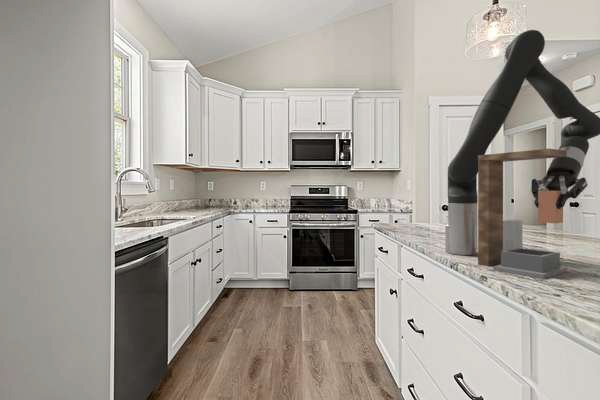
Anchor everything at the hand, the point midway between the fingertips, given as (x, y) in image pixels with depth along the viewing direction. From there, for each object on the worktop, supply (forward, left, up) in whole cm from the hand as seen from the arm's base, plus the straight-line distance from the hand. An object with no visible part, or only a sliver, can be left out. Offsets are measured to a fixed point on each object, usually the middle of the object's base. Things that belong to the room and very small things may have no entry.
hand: (547, 206), depth 100 cm
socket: (0, -11, -17) cm, 20 cm away
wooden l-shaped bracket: (-3, -10, -17) cm, 20 cm away
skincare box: (-12, +5, -17) cm, 22 cm away
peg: (0, +2, -5) cm, 5 cm away
